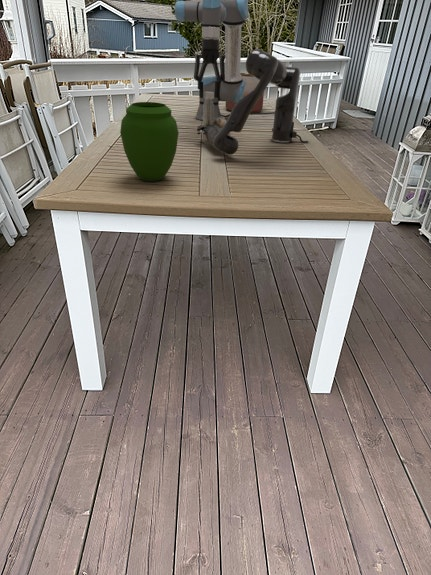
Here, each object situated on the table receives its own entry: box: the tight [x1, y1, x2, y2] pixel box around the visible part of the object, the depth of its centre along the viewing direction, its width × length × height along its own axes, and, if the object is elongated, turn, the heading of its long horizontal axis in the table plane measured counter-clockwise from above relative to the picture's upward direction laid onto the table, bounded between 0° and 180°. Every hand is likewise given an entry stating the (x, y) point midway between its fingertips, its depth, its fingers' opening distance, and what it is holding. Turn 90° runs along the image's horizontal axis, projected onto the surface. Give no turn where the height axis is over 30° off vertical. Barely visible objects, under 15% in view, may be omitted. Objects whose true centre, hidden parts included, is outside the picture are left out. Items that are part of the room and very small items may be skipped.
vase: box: [119, 101, 179, 182], centre depth 140 cm, size 20×20×24 cm
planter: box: [225, 72, 265, 113], centre depth 276 cm, size 25×25×22 cm
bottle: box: [201, 99, 214, 145], centre depth 192 cm, size 5×5×21 cm
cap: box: [204, 91, 214, 99], centre depth 187 cm, size 5×5×2 cm
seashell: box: [213, 116, 227, 127], centre depth 214 cm, size 10×6×8 cm, turn 97°
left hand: (208, 97), depth 187 cm, fingers open, 7 cm apart
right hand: (206, 127), depth 196 cm, fingers closed on bottle, 5 cm apart
